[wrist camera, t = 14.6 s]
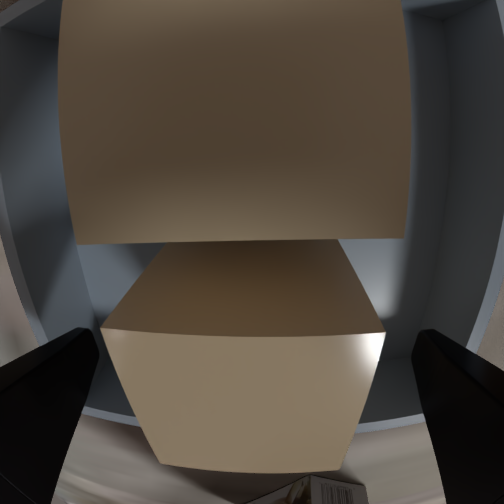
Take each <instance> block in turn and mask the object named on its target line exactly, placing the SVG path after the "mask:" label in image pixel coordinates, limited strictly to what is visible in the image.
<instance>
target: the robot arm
mask: <svg viewBox="0 0 504 504" xmlns="http://www.w3.org/2000/svg"><path fill="white" fill-rule="evenodd" d="M99 356H100V353H99V349H98V346H97V343H96V341H95V338H94V335H93V333H92V331H91V330H90V329H89V328H84V327H77V328H74V329H73V330H71V331H69V332H67V333H65V334H63V335H61V336H59V337H57V338H55V339H53V340H51V341H49V342H47V343H46V344H44V345H42V346H40V347H38V348H36V349H34V350H32V351H30V352H28V353H26V354H24V355H23V356H21V357H19V358H17V359H15V360H13V361H11V362H9V363H7V364H5V365H4V366H2V367H0V504H51V501H52V498H53V494H54V491H55V488H56V485H57V481H58V478H59V475H60V472H61V469H62V466H63V463H64V460H65V457H66V454H67V451H68V448H69V445H70V443H71V440H72V437H73V434H74V432H75V429H76V426H77V424H78V421H79V418H80V416H81V413H82V411H83V408H84V406H85V403H86V400H87V397H88V394H89V390H90V387H91V384H92V380H93V377H94V374H95V370H96V367H97V364H98V361H99ZM411 362H412V367H413V371H414V375H415V380H416V384H417V389H418V394H419V399H420V403H421V407H422V411H423V414H424V418H425V421H426V424H427V428H428V431H429V434H430V438H431V441H432V445H433V449H434V452H435V456H436V460H437V464H438V468H439V472H440V476H441V480H442V485H443V489H444V494H445V498H446V503H447V504H504V371H503V370H501V369H500V368H498V367H496V366H495V365H493V364H491V363H490V362H488V361H487V360H485V359H483V358H482V357H480V356H478V355H477V354H475V353H473V352H472V351H470V350H468V349H467V348H465V347H464V346H462V345H460V344H459V343H457V342H455V341H454V340H452V339H450V338H449V337H447V336H445V335H443V334H442V333H440V332H438V331H437V330H435V329H423V330H420V331H419V332H418V335H417V338H416V341H415V344H414V347H413V350H412V354H411Z"/></svg>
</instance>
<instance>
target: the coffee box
mask: <svg viewBox="0 0 504 504" xmlns="http://www.w3.org/2000/svg"><path fill="white" fill-rule="evenodd" d="M247 504H369V503H368V497H367V491H366V487H365V486H362V485H356V484H350V483H345V482H340V481H335V480H330V479H326V478H321V477H317V476H313V475H308V476H306V477H304V478H302V479H300V480H298V481H296V482H294V483H292V484H290V485H288V486H286V487H284V488H281V489H279V490H277V491H275V492H273V493H270V494H268V495H266V496H263V497H261V498H259V499H256V500H254V501H251V502H249V503H247Z"/></svg>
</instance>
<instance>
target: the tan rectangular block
mask: <svg viewBox="0 0 504 504" xmlns="http://www.w3.org/2000/svg"><path fill="white" fill-rule="evenodd" d="M58 113H59V130H60V142H61V152H62V161H63V169H64V177H65V184H66V191H67V197H68V203H69V208H70V214H71V219H72V224H73V229H74V234H75V238H76V243H77V245H94V244H125V243H159V242H199V241H245V240H305V239H404V234H405V226H406V217H407V207H408V195H409V182H410V164H411V90H410V73H409V60H408V49H407V40H406V32H405V24H404V17H403V11H402V5H401V0H63V3H62V11H61V20H60V32H59V47H58Z"/></svg>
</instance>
